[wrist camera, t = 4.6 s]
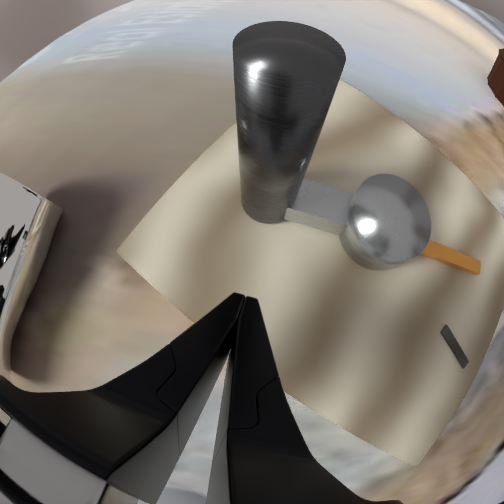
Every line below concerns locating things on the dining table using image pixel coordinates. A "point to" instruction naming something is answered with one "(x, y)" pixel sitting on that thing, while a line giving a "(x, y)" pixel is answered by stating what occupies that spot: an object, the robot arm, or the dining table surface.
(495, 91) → the muffin
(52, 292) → the dining table surface
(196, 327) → the robot arm
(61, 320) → the dining table surface
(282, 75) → the cam lever
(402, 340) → the dial board
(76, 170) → the dining table surface
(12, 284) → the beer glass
